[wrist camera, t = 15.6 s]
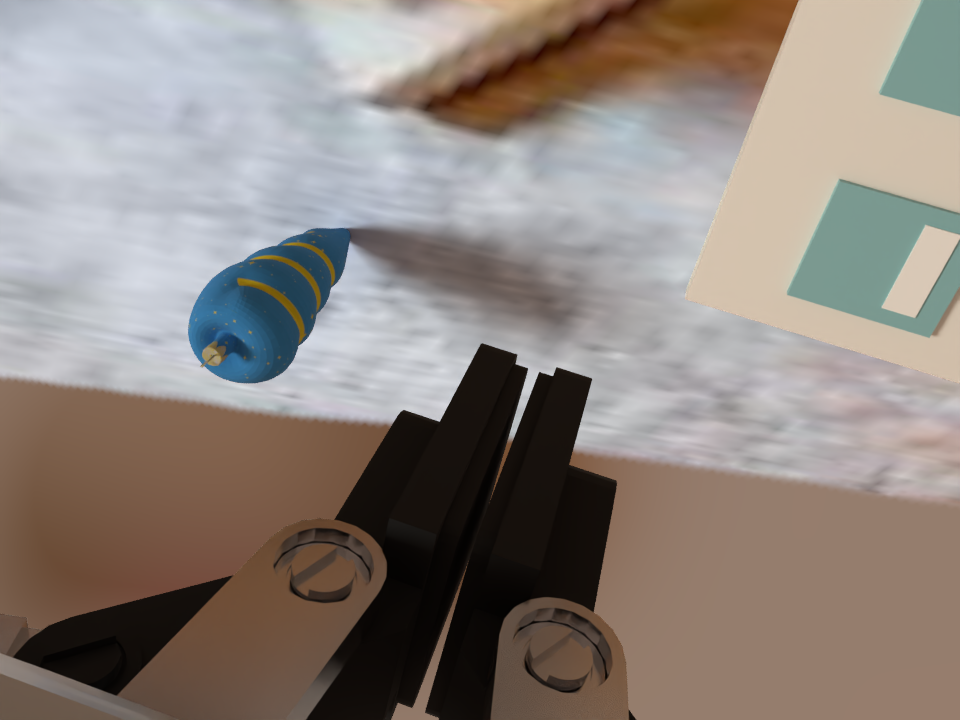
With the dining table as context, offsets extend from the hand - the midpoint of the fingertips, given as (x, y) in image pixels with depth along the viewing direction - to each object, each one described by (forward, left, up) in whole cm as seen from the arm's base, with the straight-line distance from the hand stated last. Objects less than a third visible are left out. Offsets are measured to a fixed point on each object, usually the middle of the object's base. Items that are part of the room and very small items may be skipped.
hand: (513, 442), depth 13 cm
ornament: (+14, -14, -32) cm, 38 cm away
